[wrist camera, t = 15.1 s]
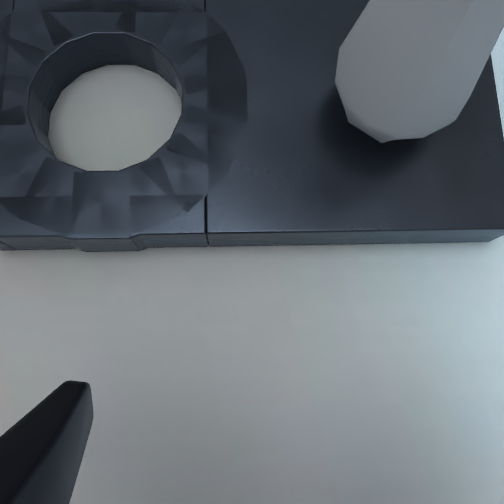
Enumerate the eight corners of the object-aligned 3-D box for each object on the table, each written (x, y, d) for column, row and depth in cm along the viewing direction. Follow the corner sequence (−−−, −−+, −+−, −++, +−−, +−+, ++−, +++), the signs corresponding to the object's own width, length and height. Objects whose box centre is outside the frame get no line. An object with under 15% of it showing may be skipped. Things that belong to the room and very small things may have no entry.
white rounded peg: (461, 74, 23) (734, -270, 11) (426, 178, 22) (690, -72, 9) (347, 33, 23) (481, -352, 11) (307, 132, 22) (404, -171, 10)
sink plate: (457, 14, 27) (480, -21, 24) (489, 245, 24) (519, 232, 22) (-3, 12, 26) (-27, -24, 23) (-28, 253, 23) (-59, 241, 20)
